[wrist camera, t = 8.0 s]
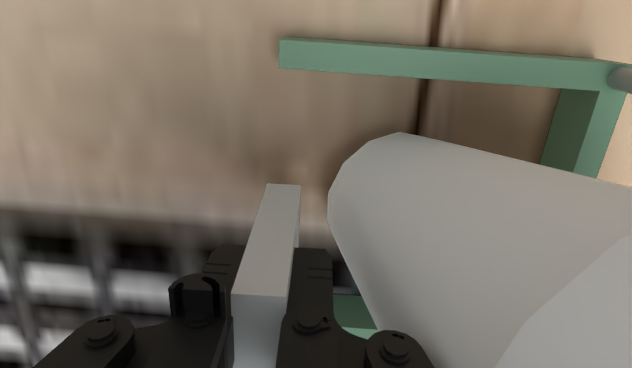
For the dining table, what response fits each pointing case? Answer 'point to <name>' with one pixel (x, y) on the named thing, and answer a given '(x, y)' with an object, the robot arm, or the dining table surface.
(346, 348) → the robot arm
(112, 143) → the dining table surface
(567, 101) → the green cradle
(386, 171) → the foam cup
